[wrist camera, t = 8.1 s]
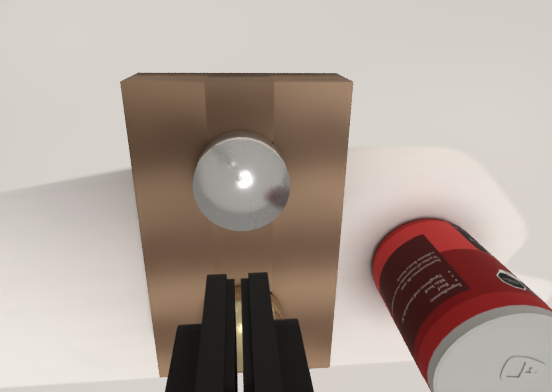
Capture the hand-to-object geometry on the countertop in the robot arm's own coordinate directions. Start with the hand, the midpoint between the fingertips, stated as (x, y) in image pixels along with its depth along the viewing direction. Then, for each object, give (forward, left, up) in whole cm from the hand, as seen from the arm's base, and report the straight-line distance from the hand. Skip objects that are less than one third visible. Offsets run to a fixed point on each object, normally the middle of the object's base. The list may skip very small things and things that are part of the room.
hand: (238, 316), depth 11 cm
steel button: (0, 0, -16) cm, 16 cm away
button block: (+5, 0, -17) cm, 17 cm away
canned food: (+9, +14, -17) cm, 24 cm away
